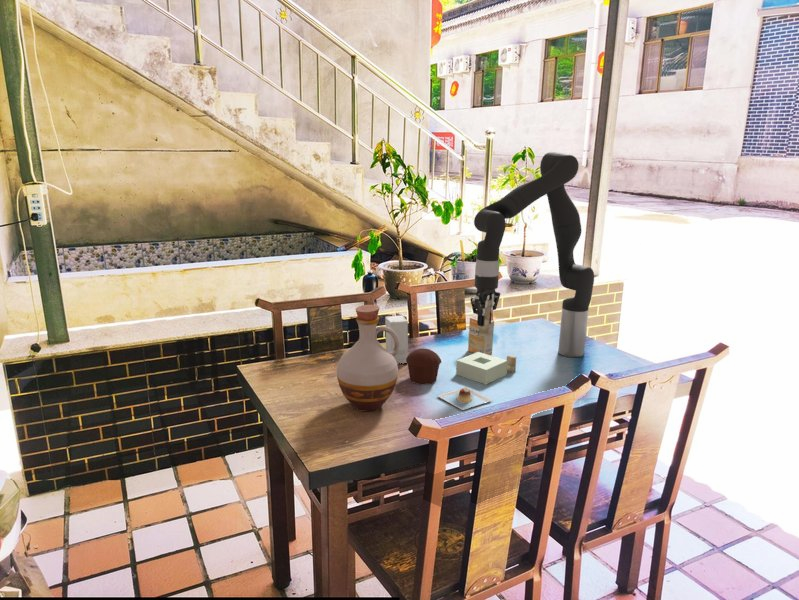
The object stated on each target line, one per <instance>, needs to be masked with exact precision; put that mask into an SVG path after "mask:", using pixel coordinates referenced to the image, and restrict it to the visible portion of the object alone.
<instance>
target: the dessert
mask: <svg viewBox="0 0 799 600" xmlns="http://www.w3.org/2000/svg"><path fill="white" fill-rule="evenodd" d="M457 394H458V395H457ZM450 395H451V396H454V395H457V398H456V400H458V401H457V402H459V401H460V402H459V403H462V402H464V403H465V404H469V403H472V401H473V399H472V396H474V397H477V398H479V399H481V400H483V401H484V402H481V403H477V404H475V405H472V406H468V407H464V408H462V407H459V406H458V405H456V404H455V403H453V402H451V401H449V400H447V399H445V398H446V397H450ZM437 397H438V398H439V399H441V400H444V401H446V402H447V403H449V404H450V405H453V407H456V408H458V409H460V410H461V411H465V410H467V409H471V407H472V408H474V407H478V406H481V405H483V404H486V403H490V402H492V401H493V399H491V398H489V397H487V396H486V395H483V394H481V393H479V392H477V391H475V390H473V389H471V388H469V387H467V386H465V387H462V388H458V389H454V390H452V391H449V392H445V393H441V394H438V395H437ZM468 402H469V403H468ZM454 404H455V405H454Z"/></svg>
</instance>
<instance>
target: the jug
mask: <svg viewBox="0 0 799 600" xmlns="http://www.w3.org/2000/svg"><path fill="white" fill-rule="evenodd" d="M355 312H356V315H357V316H355V321H356V323H357V325H358V331H359V337H358V340H357V341H356V342H355V343H354V344H353V345H352V346H351V347H350V348H348V350H347V351H346V352H344V353H343V354H342V355H341V357H340V358H339V360H338V362H337V364H336V365H337V366H336V378H337V382H338V385H339V388H340V390H341V393H342V394H343V396H344V397H345V398H346V400H347V401H348V403H349V404H351V406H352V407H354V409H355V410H357V409H358V410H357V411H360V410H362V411H361V412H373V411H372V410H374V411H377V410H379V409H380V408H381V407H382V406H383V405H384V404H385V403H386V402H387V400H388V399H389V398H390V397H391V396H392V394H393V392H394V390H395V387H396V385H397V381H398V377H399V366H398V364H397V362H396V360H395V358H394V357H393V356H395V355H396V354H397V352H398V349H399V339H398V337H397V335H396V333H395V332H394V331H393V330H392V329H391V328H389V327H386V325H384V326H383V325H382V326H381V325H380V326H377V325H378V323H379V321H380V317H379V316H378V315H379V312H380V306H379V305H377V304H363V305H360V306H359V305H358V306H357V307H356V308H355ZM380 332H385V333H386V332H388V333H389V334H390V335H391V336H392V338H393V339H394V350H393V351H392V352H389V351H387V350H386V347H384V346H383V345H382V344H381V343H380V342H379V341H378V338H377V335H378V333H380ZM378 408H379V409H378ZM376 409H377V410H376Z"/></svg>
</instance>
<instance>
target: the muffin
mask: <svg viewBox="0 0 799 600" xmlns="http://www.w3.org/2000/svg"><path fill="white" fill-rule="evenodd" d="M406 362H407V368H408V376H409V381H410V380H411V381H410V382H412V383H414V384H416V383H417V384H419V385H422V386H423V385H432V384H433V383H436V382H437V380H438V379H437V378H438V373H439V370H440V369H439V368H440V364H442V359H441V358H440V356H439V354H437V352H435V351H433V350H431V349H428V348H417V349H414V350H413V351H411V352H410V353H408V357H407V358H406ZM417 384H416V385H417Z"/></svg>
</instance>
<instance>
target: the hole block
mask: <svg viewBox="0 0 799 600" xmlns="http://www.w3.org/2000/svg"><path fill="white" fill-rule="evenodd" d="M455 367H456V370H455V374H456V376H460V377H463V378H465V379H468V380H471V381H475V382H478V383H480V384H483V385H488V384H490V383H491V382H493V381H495V380H498V379H500V378H502V377H504V376H506V375H507V359H503V358H499V357H497V356H494V355H492V354H491V355H487V354H484V353H481V352H476V353H472V354H469V355H467V356H465V357H464V356H463V357H462V358H459V359H457V360H456V366H455Z"/></svg>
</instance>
